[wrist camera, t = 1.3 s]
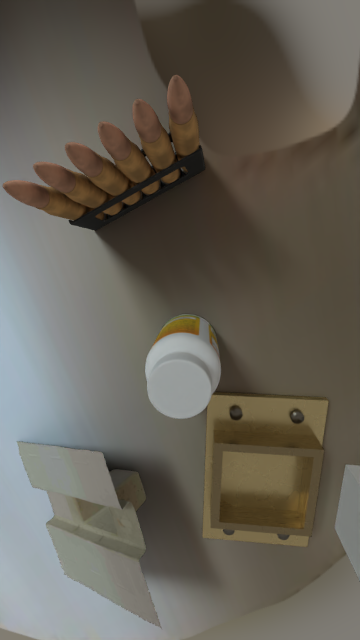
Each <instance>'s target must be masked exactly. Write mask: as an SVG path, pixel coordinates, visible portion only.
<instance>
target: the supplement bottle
mask: <svg viewBox="0 0 360 640" xmlns="http://www.w3.org/2000/svg"><path fill="white" fill-rule="evenodd" d="M145 375H146V379H147V393H148V396H149V399H150V401H151V403H152V404H153V406H154V407H155V408H156V409H157V410H158V411H159V412H161V413H162V414H164V415H166V416H168V417H171V418H176V419H186V418H190V417H193V416H196V415H197V414H199V413H200V412H202V411H203V410H204V409H205V408H206V406H207V405H208V403H209V401H210V399H211V395H212V394H213V393H214V391H215V390H216V388H217V386H218V384H219V381H220V376H221V363H220V356H219V349H218V342H217V337H216V334H215V331H214V329H213V327H212V326H211V325H210V324H209V323H208V322H207V321H206V320H205V319H203V318H201V317H199V316H196V315H192V314H182V315H178V316H176V317H174V318H172V319H170V320H169V321H168V322H167V323H166V324H165V325H164V326H163V328H162V329H161V331H160V333H159V335H158V337H157V339H156V340H155V342H154V344H153V346H152V348H151V350H150V352H149V354H148V356H147V360H146V365H145Z"/></svg>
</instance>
